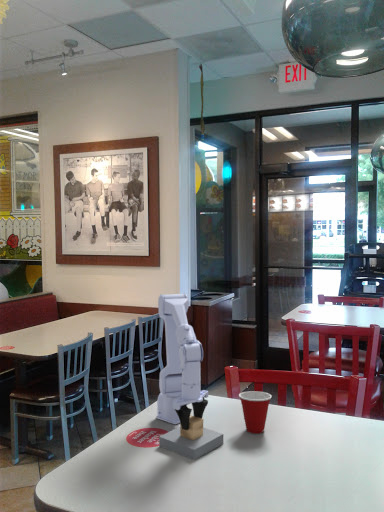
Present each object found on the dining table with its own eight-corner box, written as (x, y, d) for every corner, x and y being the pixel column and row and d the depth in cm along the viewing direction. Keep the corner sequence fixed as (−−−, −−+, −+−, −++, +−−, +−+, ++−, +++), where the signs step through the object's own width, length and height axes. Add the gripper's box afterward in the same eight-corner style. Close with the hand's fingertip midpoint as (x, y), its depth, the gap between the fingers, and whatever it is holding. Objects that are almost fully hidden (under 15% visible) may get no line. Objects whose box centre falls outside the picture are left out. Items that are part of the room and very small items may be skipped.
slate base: (159, 446, 145) (159, 436, 145) (189, 431, 156) (188, 422, 156) (194, 460, 136) (194, 449, 136) (223, 443, 147) (223, 433, 147)
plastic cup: (270, 423, 162) (270, 389, 161) (272, 437, 151) (272, 400, 150) (238, 422, 163) (238, 388, 162) (238, 436, 152) (238, 399, 151)
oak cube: (180, 435, 145) (180, 419, 145) (190, 430, 149) (190, 415, 149) (192, 440, 142) (193, 423, 142) (203, 435, 146) (203, 419, 146)
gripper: (185, 391, 137) (185, 437, 137) (215, 379, 148) (216, 422, 149) (167, 386, 141) (168, 430, 142) (198, 375, 152) (198, 416, 153)
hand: (191, 426), depth 146 cm, fingers open, 5 cm apart
